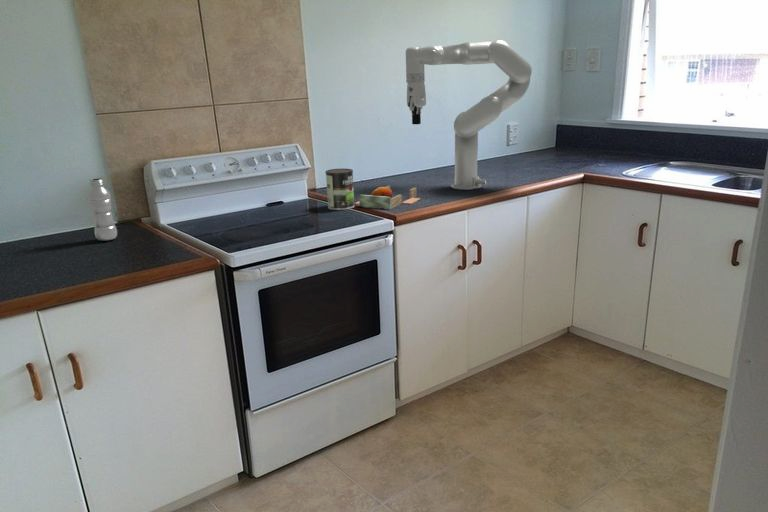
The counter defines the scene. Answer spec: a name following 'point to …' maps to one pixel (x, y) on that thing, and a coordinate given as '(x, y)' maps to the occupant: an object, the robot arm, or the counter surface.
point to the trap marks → (409, 201)
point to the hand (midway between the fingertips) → (416, 124)
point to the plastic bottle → (102, 210)
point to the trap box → (384, 200)
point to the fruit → (382, 192)
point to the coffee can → (340, 189)
